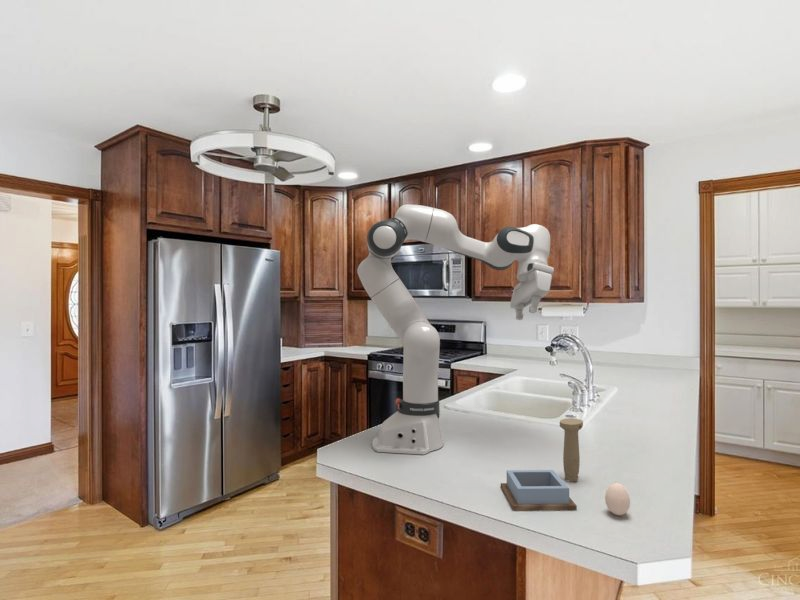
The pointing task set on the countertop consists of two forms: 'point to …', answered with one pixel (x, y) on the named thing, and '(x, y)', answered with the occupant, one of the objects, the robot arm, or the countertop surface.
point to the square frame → (537, 487)
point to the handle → (571, 448)
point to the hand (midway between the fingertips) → (525, 316)
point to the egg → (617, 499)
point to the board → (534, 506)
